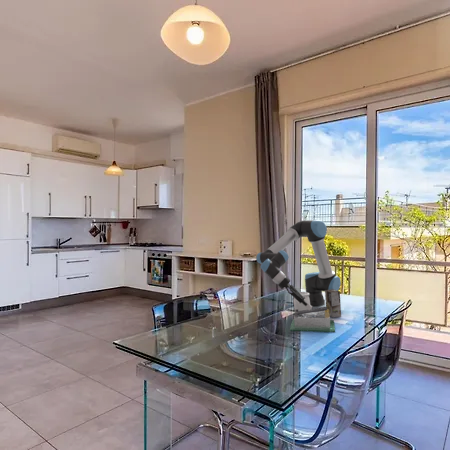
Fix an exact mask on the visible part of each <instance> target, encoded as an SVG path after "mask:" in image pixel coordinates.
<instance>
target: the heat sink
mask: <svg viewBox="0 0 450 450" xmlns="http://www.w3.org/2000/svg"><path fill="white" fill-rule="evenodd" d="M296 311H298V309H296ZM330 318H331V316H330V314H329V309H327V310H325V311H318V312H312V313H305V314H299V315H298V312H294V316H293V318H292V321H291V324H290V328H289V331H290V332H310V333H311V332H313V333H317V332H318V333H336V326H335V319H330Z"/></svg>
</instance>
